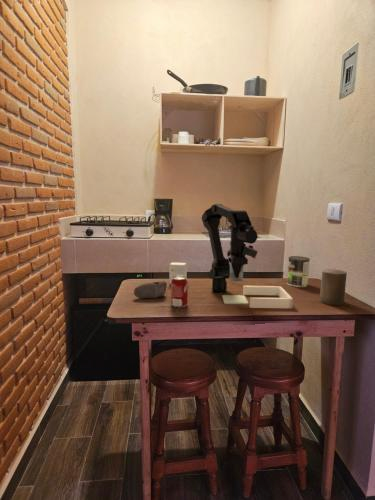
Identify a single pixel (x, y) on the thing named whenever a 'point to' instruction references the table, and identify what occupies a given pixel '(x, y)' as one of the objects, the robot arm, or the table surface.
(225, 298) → the sage pad
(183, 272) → the small box
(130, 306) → the table surface
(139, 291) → the perforated stone tool
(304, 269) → the clear lidded jar
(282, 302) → the open-sided box
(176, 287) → the soda can
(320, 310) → the table surface
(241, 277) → the slate block
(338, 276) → the pillar candle
